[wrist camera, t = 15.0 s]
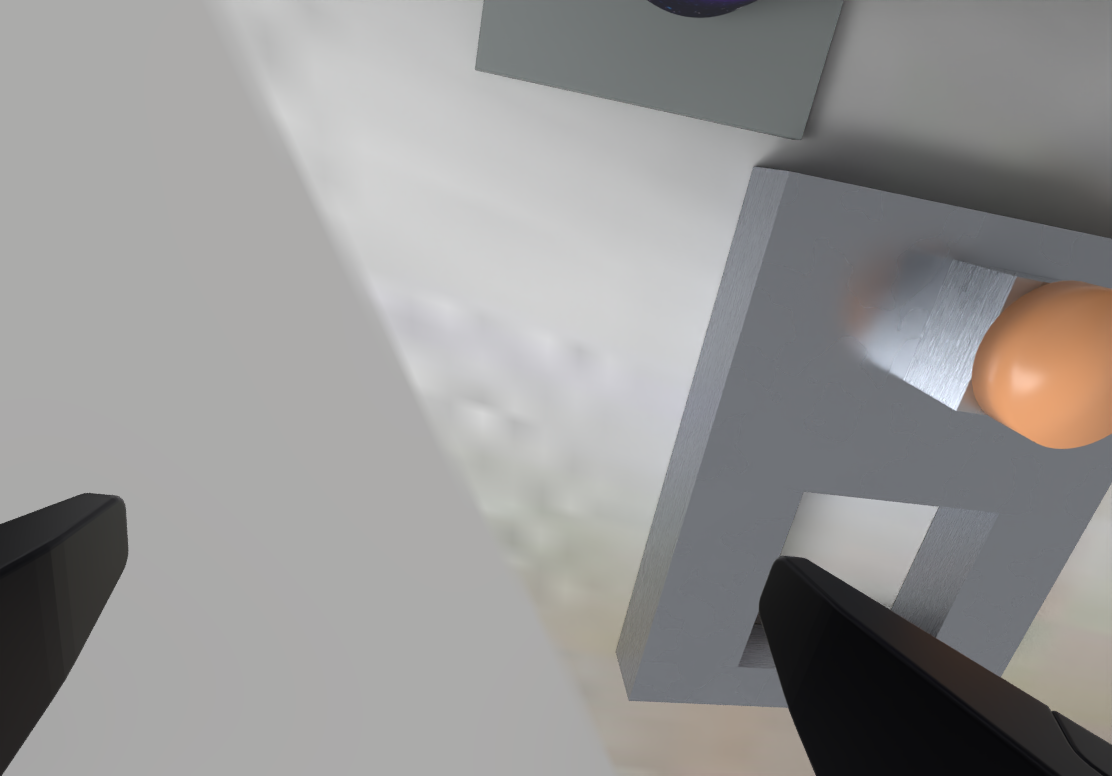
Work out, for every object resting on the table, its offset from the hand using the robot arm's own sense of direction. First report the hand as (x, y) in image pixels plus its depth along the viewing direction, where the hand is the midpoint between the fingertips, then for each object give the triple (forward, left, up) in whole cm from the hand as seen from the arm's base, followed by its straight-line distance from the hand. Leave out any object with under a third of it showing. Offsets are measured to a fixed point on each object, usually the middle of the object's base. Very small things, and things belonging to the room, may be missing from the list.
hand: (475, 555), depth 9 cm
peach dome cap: (-16, -3, -9) cm, 19 cm away
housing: (-16, +4, -13) cm, 21 cm away
